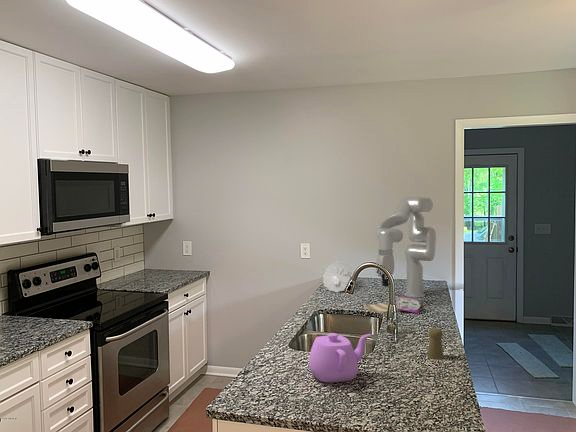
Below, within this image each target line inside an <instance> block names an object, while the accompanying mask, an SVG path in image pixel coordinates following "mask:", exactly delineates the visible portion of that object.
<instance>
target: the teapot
mask: <svg viewBox="0 0 576 432" xmlns="http://www.w3.org/2000/svg"><path fill="white" fill-rule="evenodd" d="M371 335H372V334H371V333H366V334H363V335H362V336H361V337H360V338H359V340H358V343H357V346H356V348H355V349H354V348H353V347H354V346H353V345H352V342H351V341H350V339H348V338H347V337H345V336H343V335H339V334H338V333H335V332H330V333H328V334H327V335H321V336H320V335H319V336H316V337H315V339H314V340H313V341H314V342H313V343H312V346H311V349H310V353H309V359H308V367H309V371H310V372H311V373H312V375H313V376H314V377H315V379H317V380H318V381H320V382H324V383H339V382H347V381H351V380H355V378H356V377H357V374H358V371H359V368H358V367H359V364H358V363H360V362H361V360H362V358H363V356H364V350H365V344H366V341H367V339H368V338H369V337H370V336H371Z"/></svg>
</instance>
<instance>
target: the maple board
mask: <svg viewBox="0 0 576 432" xmlns="http://www.w3.org/2000/svg"><path fill="white" fill-rule="evenodd" d="M389 304H390V303H386V302H378V303H375V304H369V305H364V306H363V309H365V310H367V309H368V310H367V311H370V310H371V312H374V313H378V314H381V315H387V309H388V305H389ZM395 306H396V308H397V312H401V311H402V310H398V307H397V305H395Z"/></svg>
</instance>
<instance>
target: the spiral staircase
mask: <svg viewBox="0 0 576 432" xmlns="http://www.w3.org/2000/svg"><path fill="white" fill-rule="evenodd" d="M350 270H351V266H350V265H349V262H345V261H343V260H341V261H338V260H337V261H336V260H334V262H332V263H330V264H329V265H328V266H327V267H326V268H325V270H324V271H325V272H323V274H322V278H323V280H322V283H323V285H324V288H326V289H328V291H329V292H330V293H331V292H335V293H339V292H343V291H345V289H346V288H347V287H348V286H347V284H348V282H349V281H350V279H351V280H352V278H351V277H352V274H353V273H352V272H351V271H350ZM350 282H351V281H350ZM350 282H349V283H350ZM346 286H347V287H346Z"/></svg>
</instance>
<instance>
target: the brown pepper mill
mask: <svg viewBox="0 0 576 432" xmlns="http://www.w3.org/2000/svg"><path fill="white" fill-rule="evenodd" d="M443 335H444V334H443V331H442V329H439V328H430V329H429V330H428V336H429V343H428V350H427V358H428V359H431V360H443V359H444V351H443V343H442V342H443V341H442V338H443Z"/></svg>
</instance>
